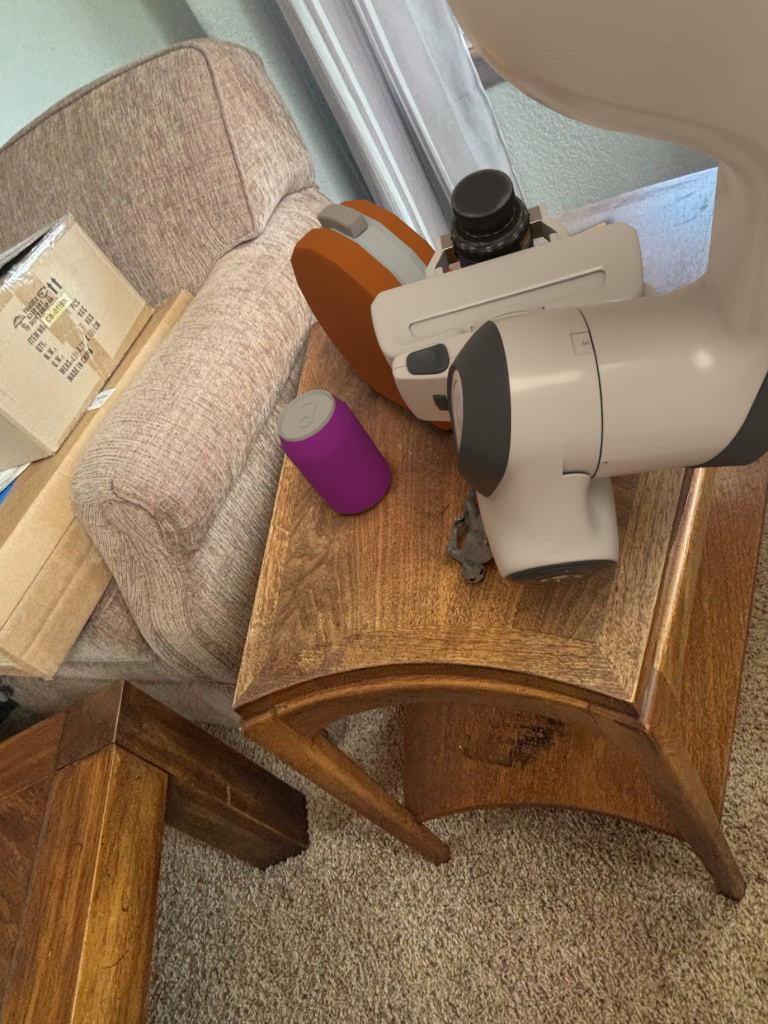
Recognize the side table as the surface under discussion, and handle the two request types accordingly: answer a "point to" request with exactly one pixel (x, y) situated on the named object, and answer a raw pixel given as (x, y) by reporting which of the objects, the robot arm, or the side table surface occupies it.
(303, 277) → the alarm clock
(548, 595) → the side table surface
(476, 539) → the figurine
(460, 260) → the pill bottle
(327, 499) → the beverage can
